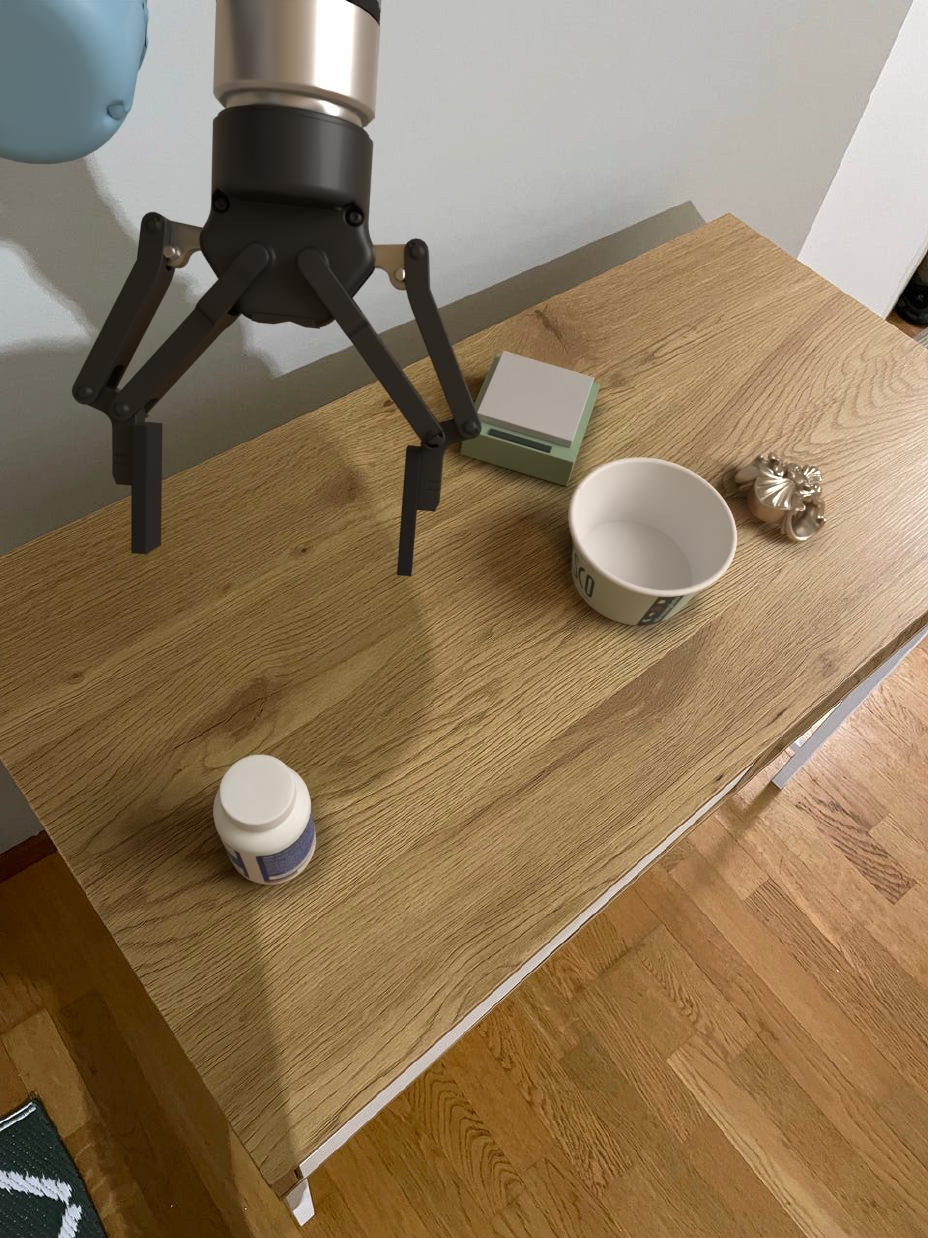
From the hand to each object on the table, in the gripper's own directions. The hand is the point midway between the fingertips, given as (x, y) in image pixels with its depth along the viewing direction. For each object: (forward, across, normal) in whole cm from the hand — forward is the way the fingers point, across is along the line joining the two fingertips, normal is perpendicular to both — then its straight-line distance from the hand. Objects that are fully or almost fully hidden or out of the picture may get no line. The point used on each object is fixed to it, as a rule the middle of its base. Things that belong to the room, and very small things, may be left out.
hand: (276, 560), depth 50 cm
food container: (+3, -24, -20) cm, 31 cm away
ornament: (-3, -36, -26) cm, 45 cm away
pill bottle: (+19, 0, -4) cm, 19 cm away
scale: (-7, -16, -30) cm, 34 cm away
